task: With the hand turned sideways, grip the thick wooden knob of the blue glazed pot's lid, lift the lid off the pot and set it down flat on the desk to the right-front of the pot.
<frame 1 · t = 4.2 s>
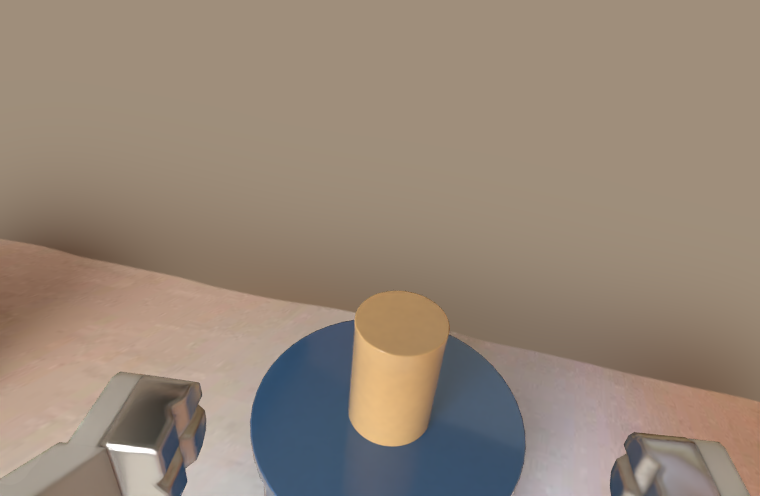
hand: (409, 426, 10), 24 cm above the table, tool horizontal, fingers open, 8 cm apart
lid: (387, 420, 29), point 8 cm above the table, touching pot
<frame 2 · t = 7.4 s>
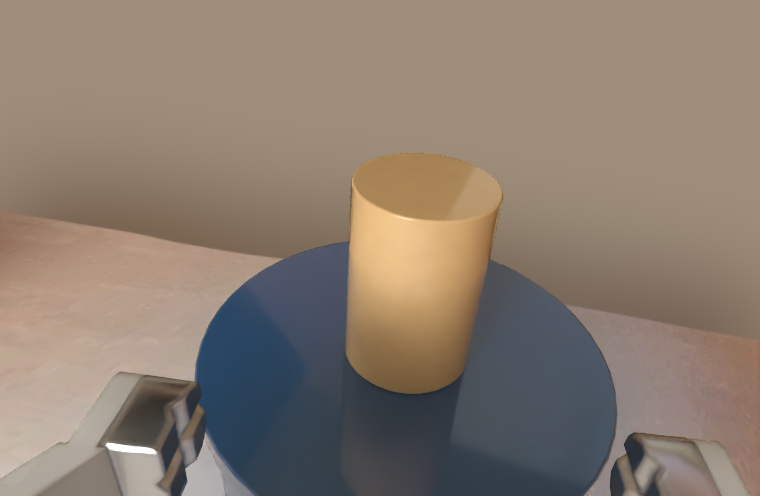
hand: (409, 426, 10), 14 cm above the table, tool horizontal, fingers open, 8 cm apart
lid: (404, 363, 20), point 8 cm above the table, touching pot
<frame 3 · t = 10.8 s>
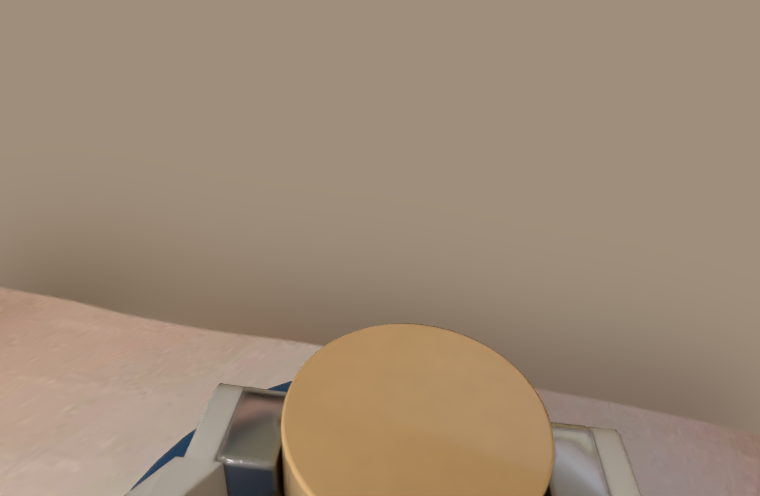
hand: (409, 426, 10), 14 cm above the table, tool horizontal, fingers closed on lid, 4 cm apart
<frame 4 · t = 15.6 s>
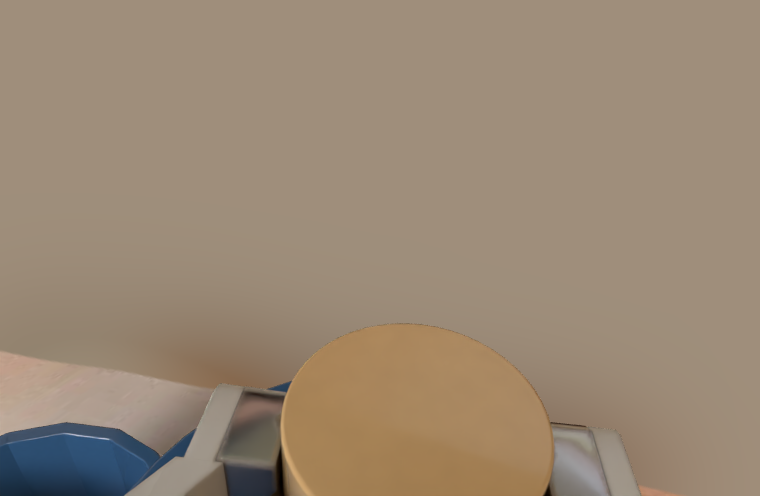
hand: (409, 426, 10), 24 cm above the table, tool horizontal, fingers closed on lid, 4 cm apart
when the fingers open (6 cm above the table, at t = 20.8 s): lid stays where it is, point 1 cm above the table.
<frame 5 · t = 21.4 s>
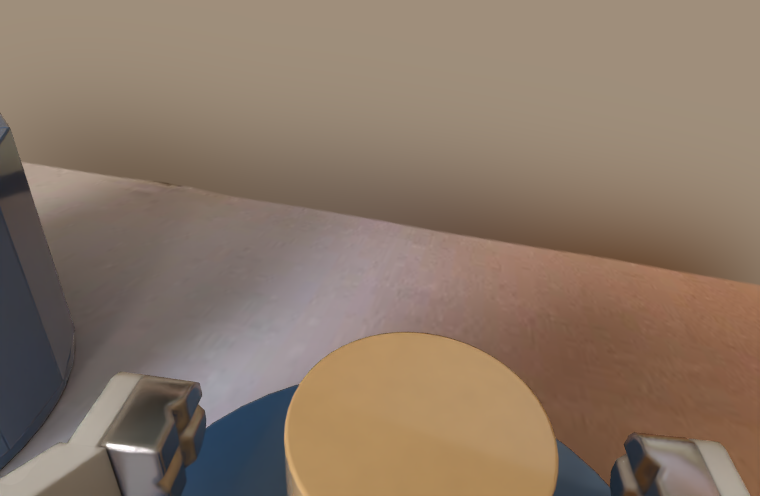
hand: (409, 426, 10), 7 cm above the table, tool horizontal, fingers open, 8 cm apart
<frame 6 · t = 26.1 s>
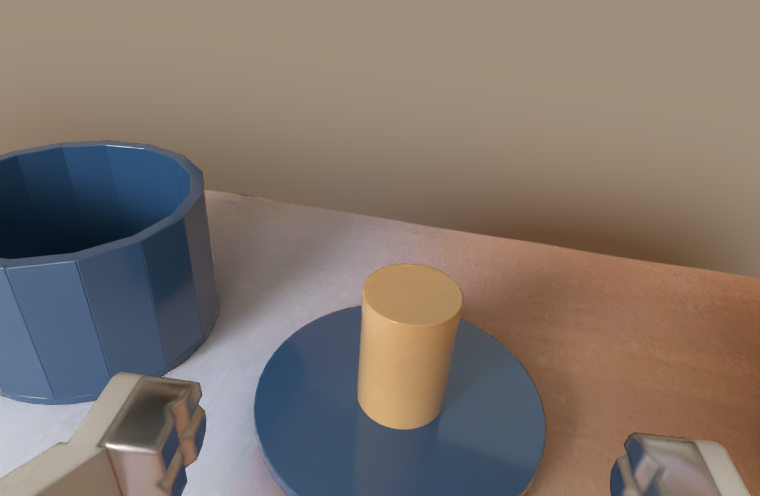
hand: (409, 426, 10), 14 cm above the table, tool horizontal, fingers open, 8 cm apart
lid: (399, 404, 28), point 1 cm above the table
pot: (103, 316, 32), on the table
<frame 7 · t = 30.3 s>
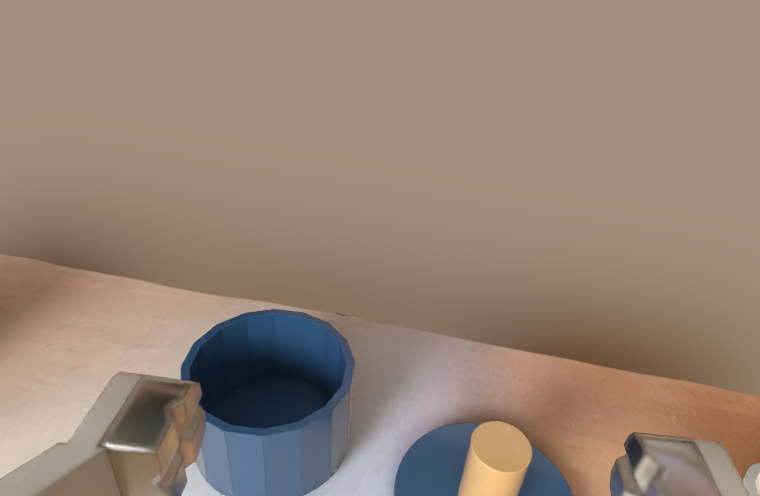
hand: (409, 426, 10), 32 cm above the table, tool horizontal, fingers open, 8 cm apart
pot: (273, 432, 48), on the table
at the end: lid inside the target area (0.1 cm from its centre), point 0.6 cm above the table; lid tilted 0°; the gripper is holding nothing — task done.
